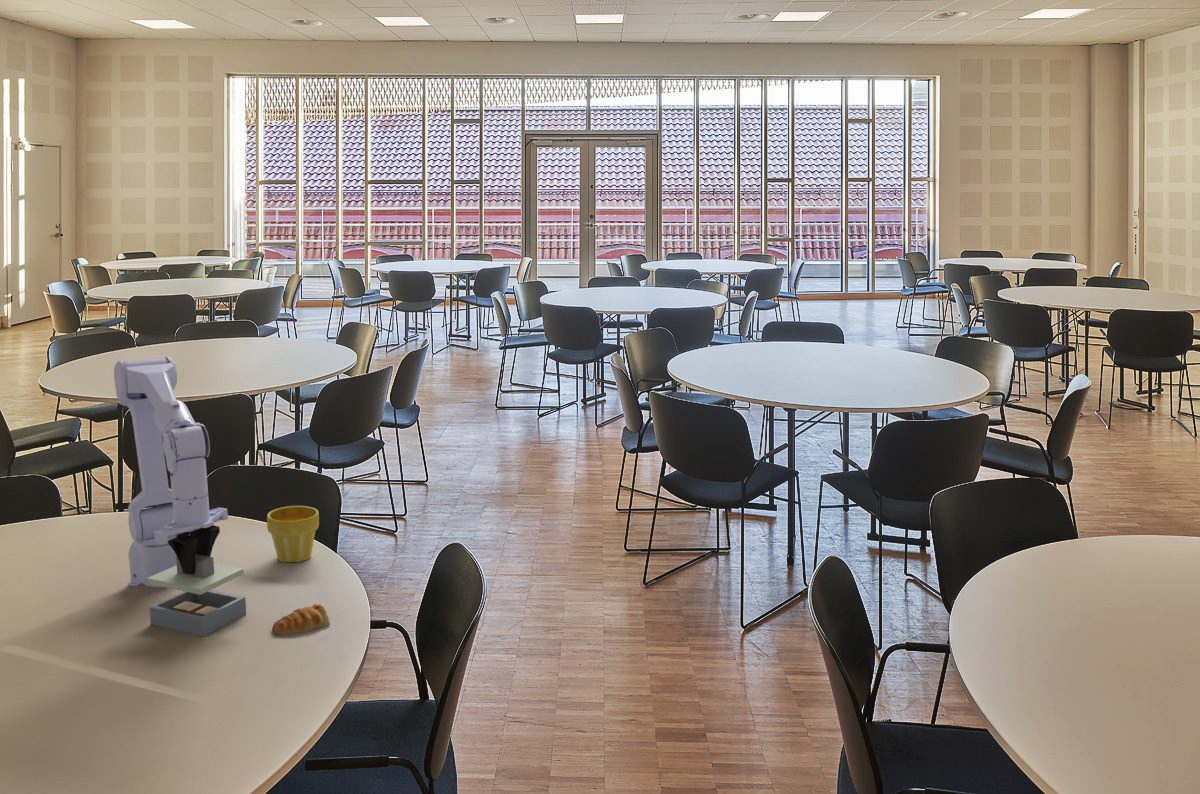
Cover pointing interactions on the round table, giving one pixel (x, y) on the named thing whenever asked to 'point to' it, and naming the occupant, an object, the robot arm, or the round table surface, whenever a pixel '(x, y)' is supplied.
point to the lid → (196, 576)
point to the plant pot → (293, 531)
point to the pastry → (302, 620)
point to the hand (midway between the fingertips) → (195, 570)
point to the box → (195, 624)
